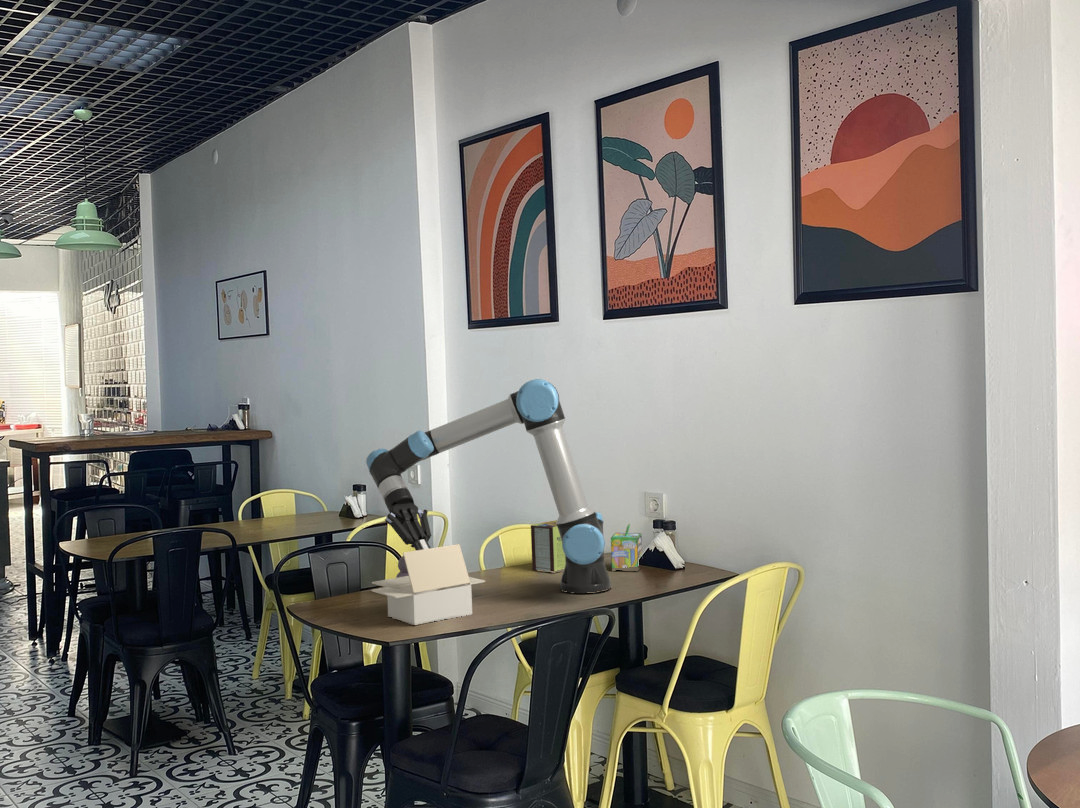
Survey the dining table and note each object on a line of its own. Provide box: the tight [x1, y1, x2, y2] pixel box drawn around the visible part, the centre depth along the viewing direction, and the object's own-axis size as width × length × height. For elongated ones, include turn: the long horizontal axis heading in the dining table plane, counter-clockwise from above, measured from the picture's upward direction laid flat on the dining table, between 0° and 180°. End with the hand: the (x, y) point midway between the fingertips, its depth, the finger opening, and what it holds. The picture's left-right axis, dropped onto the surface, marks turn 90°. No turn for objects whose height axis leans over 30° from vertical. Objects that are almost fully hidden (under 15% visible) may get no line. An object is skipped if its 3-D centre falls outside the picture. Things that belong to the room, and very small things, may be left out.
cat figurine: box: [395, 556, 409, 578], centre depth 291 cm, size 9×8×12 cm
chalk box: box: [610, 523, 643, 569], centre depth 318 cm, size 9×9×15 cm
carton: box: [371, 576, 486, 625], centre depth 265 cm, size 23×28×8 cm
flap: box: [402, 543, 470, 593], centre depth 258 cm, size 11×18×1 cm
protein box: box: [530, 519, 565, 571], centre depth 324 cm, size 10×15×16 cm
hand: (429, 561), depth 260 cm, fingers closed
